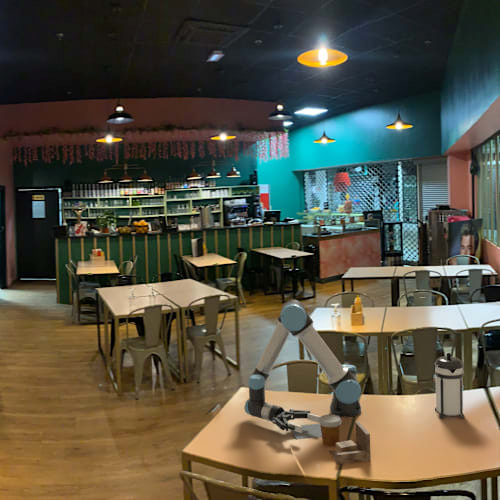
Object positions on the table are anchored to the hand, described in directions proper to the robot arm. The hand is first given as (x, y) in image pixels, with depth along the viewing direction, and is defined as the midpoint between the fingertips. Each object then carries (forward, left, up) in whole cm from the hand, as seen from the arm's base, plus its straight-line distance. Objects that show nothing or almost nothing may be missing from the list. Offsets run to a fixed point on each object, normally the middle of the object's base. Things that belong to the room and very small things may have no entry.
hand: (311, 424), depth 241 cm
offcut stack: (-9, +21, -6) cm, 23 cm away
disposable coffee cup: (-6, +8, -7) cm, 12 cm away
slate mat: (0, -7, -7) cm, 10 cm away
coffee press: (-70, -12, -7) cm, 72 cm away
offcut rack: (-10, +20, -7) cm, 24 cm away
